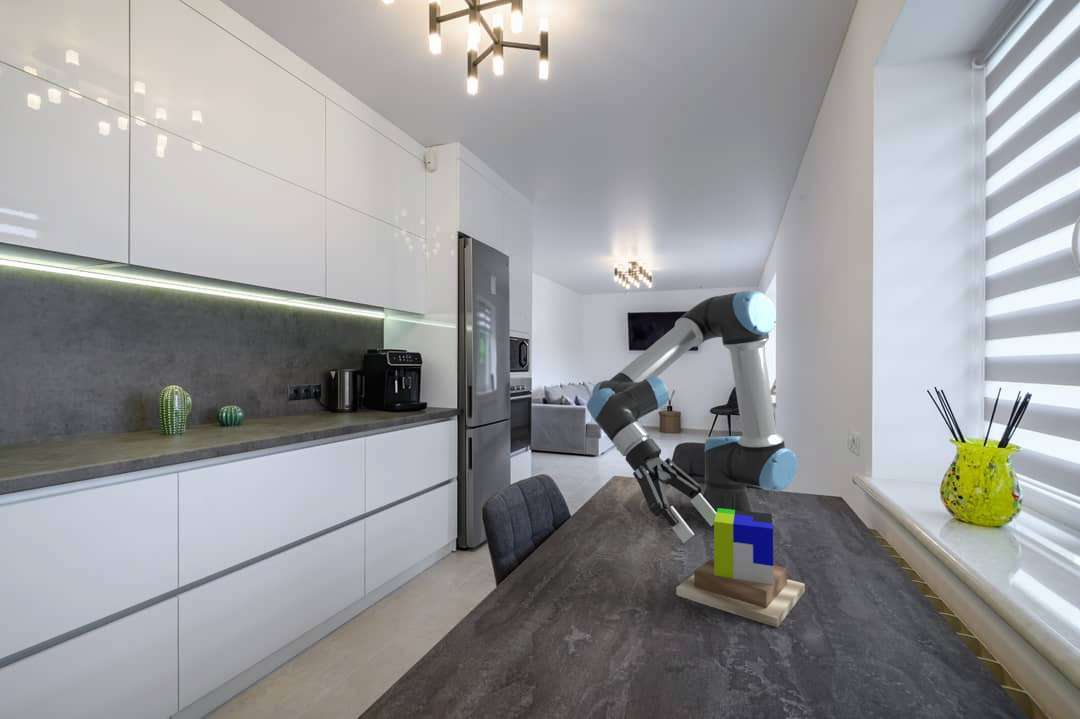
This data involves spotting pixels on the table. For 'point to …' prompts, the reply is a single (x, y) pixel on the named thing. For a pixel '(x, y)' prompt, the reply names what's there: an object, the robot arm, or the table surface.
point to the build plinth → (745, 607)
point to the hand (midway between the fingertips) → (703, 530)
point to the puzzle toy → (743, 545)
